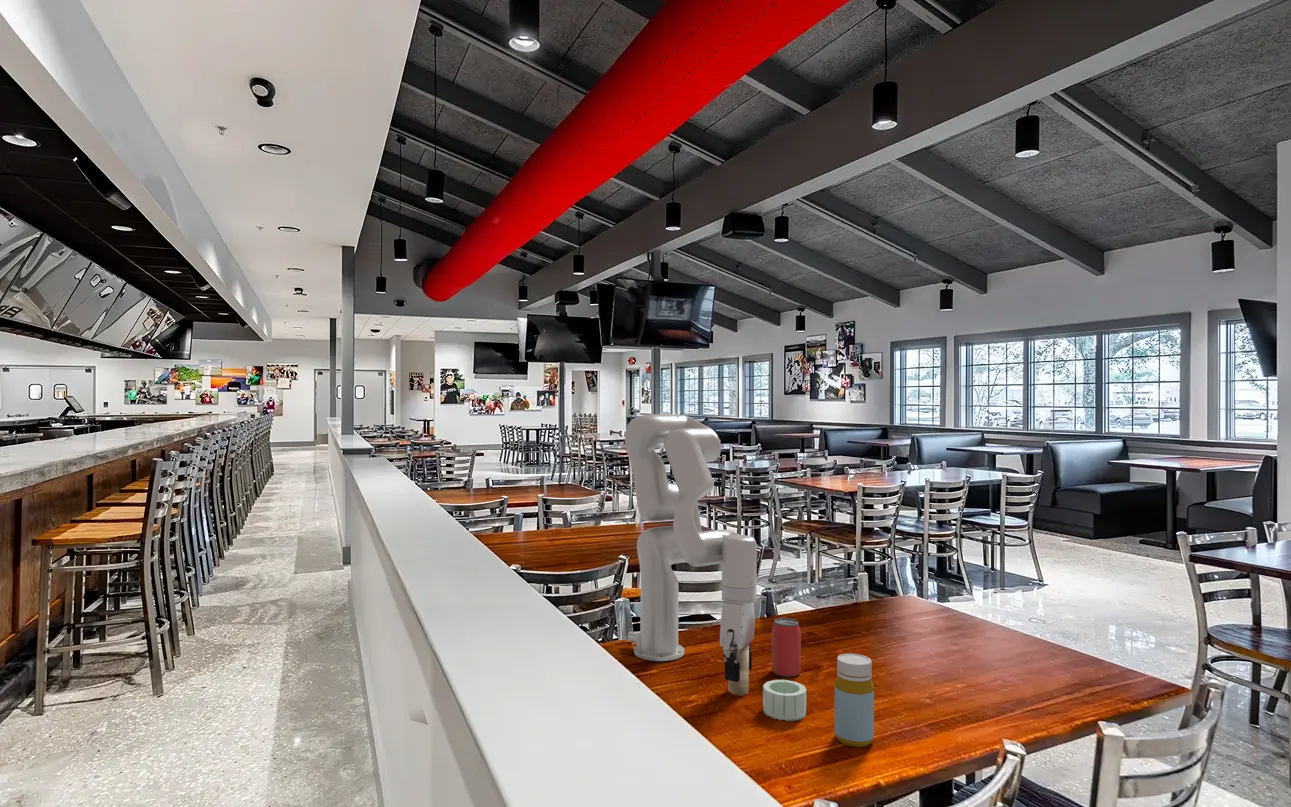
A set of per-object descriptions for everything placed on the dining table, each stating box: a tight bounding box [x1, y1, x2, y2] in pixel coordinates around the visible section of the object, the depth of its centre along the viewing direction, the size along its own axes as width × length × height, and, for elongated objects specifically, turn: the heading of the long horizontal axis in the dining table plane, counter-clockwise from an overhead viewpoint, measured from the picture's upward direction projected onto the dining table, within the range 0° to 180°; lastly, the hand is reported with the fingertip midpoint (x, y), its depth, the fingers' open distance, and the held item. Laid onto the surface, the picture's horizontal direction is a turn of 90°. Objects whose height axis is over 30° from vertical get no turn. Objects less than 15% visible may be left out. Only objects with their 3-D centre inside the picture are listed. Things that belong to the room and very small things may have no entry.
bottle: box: [834, 653, 875, 748], centre depth 136 cm, size 7×7×15 cm
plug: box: [727, 644, 750, 696], centre depth 159 cm, size 4×4×10 cm
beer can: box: [771, 617, 802, 678], centre depth 170 cm, size 7×7×12 cm
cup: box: [762, 679, 807, 722], centre depth 148 cm, size 8×8×5 cm
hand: (738, 674), depth 159 cm, fingers open, 7 cm apart
